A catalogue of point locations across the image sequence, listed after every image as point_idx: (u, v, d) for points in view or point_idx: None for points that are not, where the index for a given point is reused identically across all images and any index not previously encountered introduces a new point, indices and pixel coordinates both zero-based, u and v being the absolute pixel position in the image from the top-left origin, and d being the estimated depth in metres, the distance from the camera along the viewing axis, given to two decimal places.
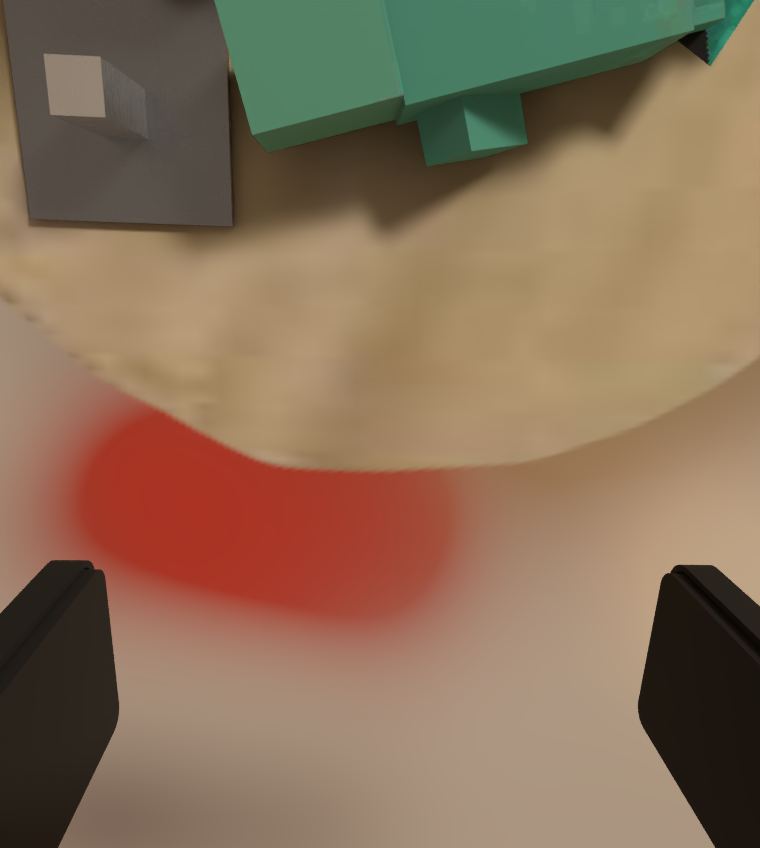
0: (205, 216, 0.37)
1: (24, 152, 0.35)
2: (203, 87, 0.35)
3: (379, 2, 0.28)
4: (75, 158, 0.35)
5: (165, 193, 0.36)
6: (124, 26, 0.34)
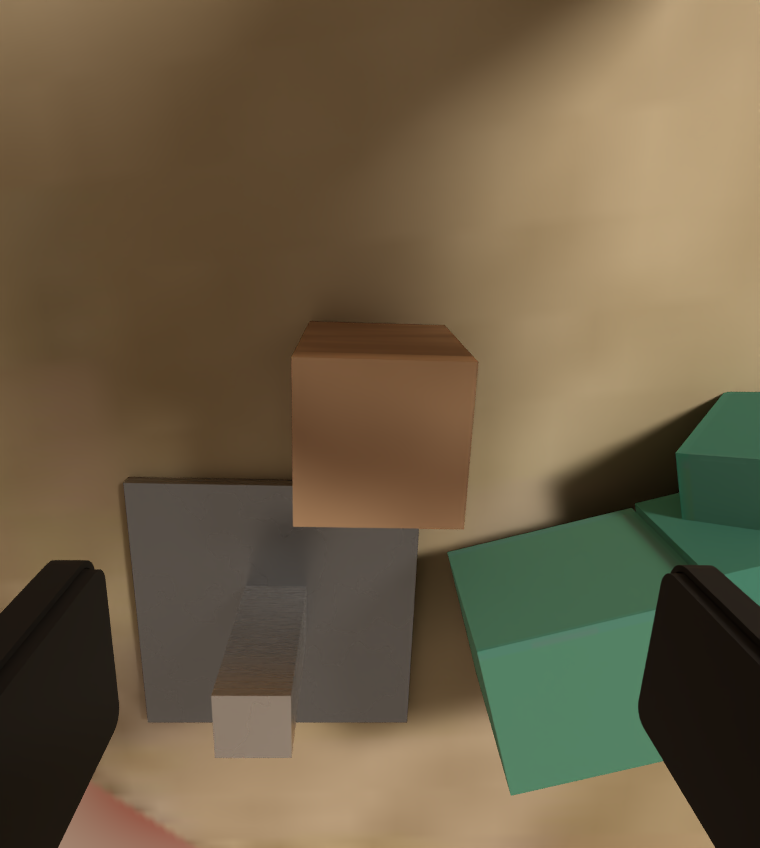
0: (373, 713, 0.28)
1: (144, 656, 0.27)
2: (384, 582, 0.26)
3: None
4: (210, 660, 0.27)
5: (324, 692, 0.28)
6: (285, 521, 0.25)
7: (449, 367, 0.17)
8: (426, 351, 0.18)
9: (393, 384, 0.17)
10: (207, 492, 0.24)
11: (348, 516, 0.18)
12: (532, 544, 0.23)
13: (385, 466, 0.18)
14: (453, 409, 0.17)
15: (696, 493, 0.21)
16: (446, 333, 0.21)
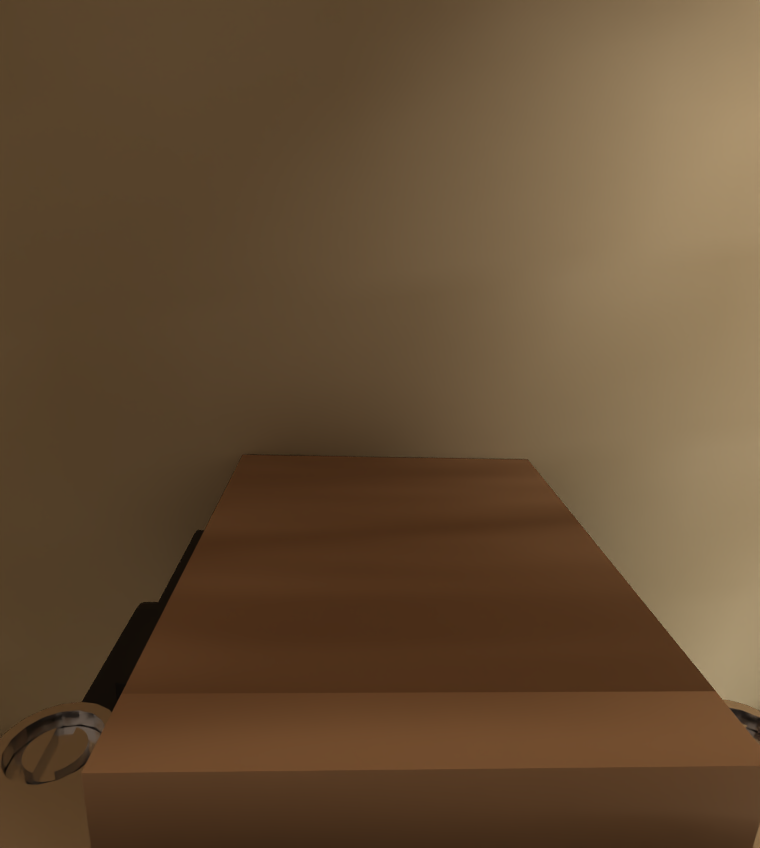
0: None
1: None
2: None
3: None
4: None
5: None
6: None
7: (669, 782, 0.05)
8: (552, 651, 0.06)
9: (465, 840, 0.05)
10: None
11: None
12: None
13: None
14: None
15: None
16: (549, 503, 0.09)
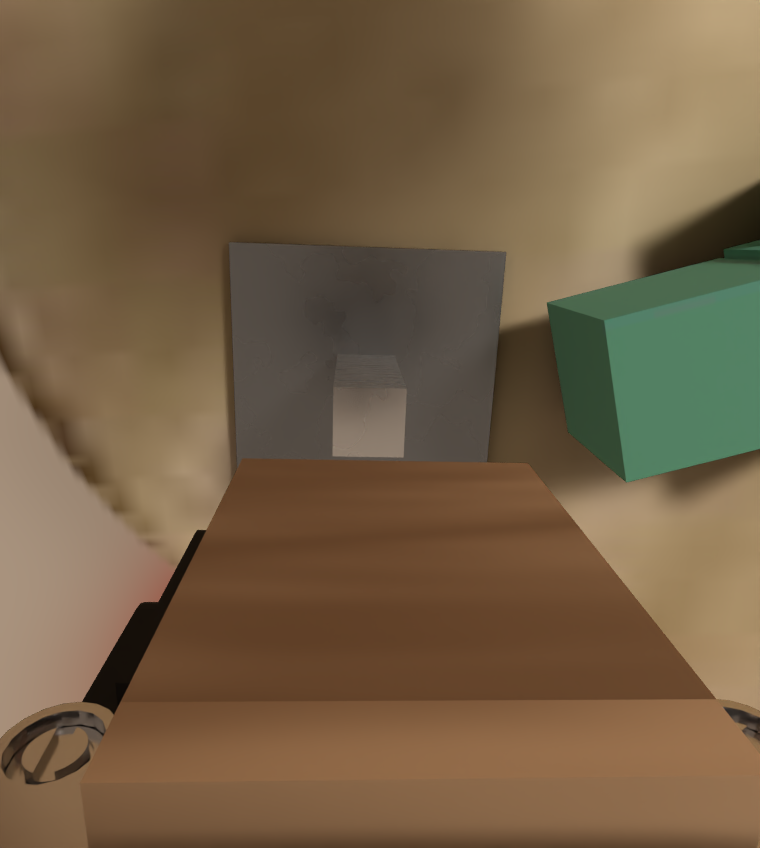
0: None
1: (239, 428, 0.28)
2: (467, 352, 0.28)
3: None
4: (300, 433, 0.28)
5: None
6: (377, 285, 0.27)
7: (671, 792, 0.05)
8: (553, 659, 0.06)
9: None
10: (306, 253, 0.26)
11: None
12: (630, 285, 0.25)
13: None
14: None
15: None
16: (550, 507, 0.09)
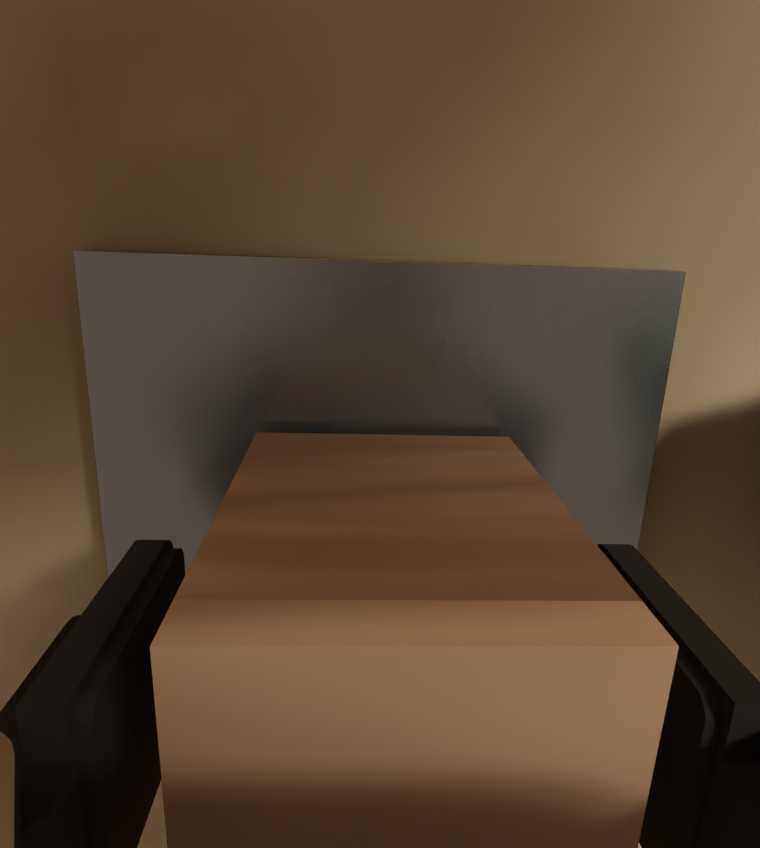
0: None
1: None
2: (589, 477, 0.13)
3: None
4: None
5: None
6: (406, 343, 0.12)
7: (598, 660, 0.06)
8: (515, 574, 0.07)
9: (441, 705, 0.06)
10: (249, 275, 0.12)
11: None
12: None
13: None
14: (601, 758, 0.06)
15: None
16: (525, 470, 0.11)
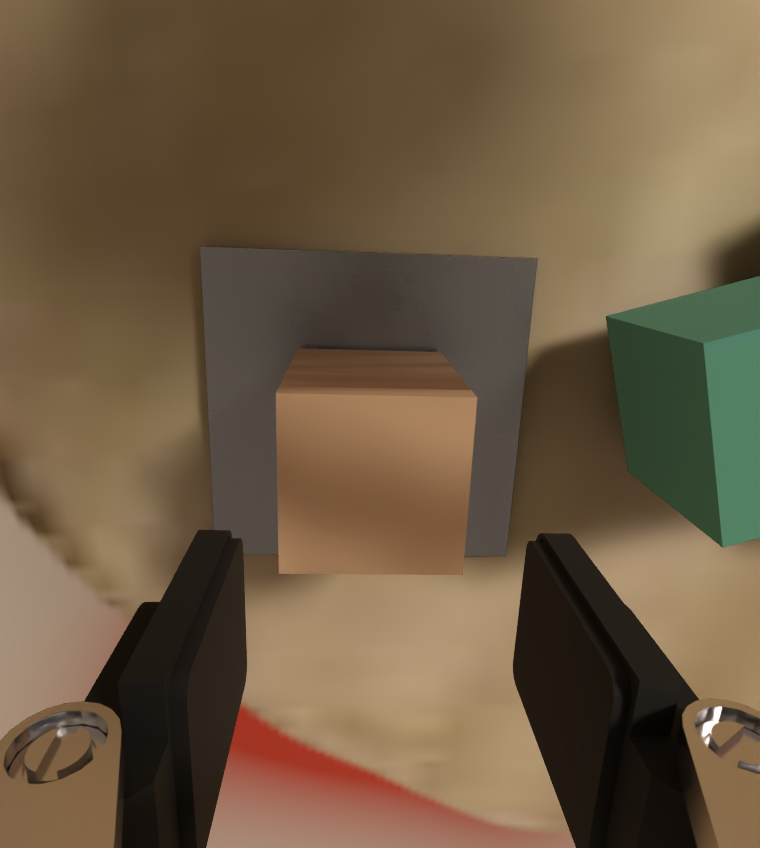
0: (469, 544, 0.25)
1: (214, 469, 0.24)
2: (489, 378, 0.23)
3: None
4: None
5: None
6: (381, 298, 0.22)
7: (446, 403, 0.16)
8: (421, 384, 0.17)
9: (386, 421, 0.16)
10: (295, 260, 0.21)
11: (338, 562, 0.17)
12: (712, 294, 0.20)
13: (377, 509, 0.16)
14: (451, 448, 0.16)
15: None
16: (442, 361, 0.20)
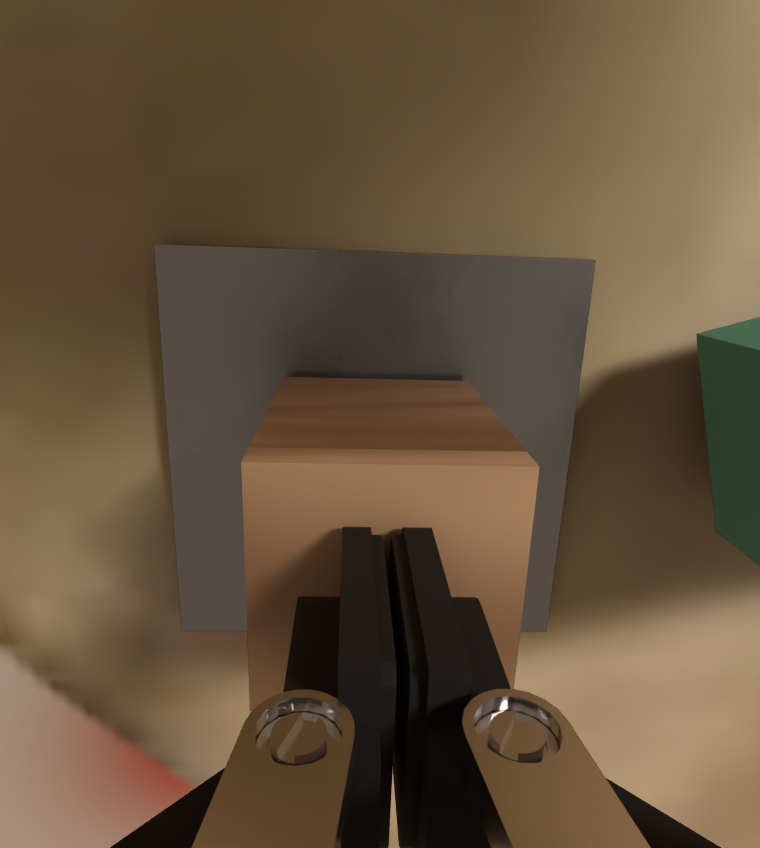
0: None
1: (179, 528, 0.18)
2: (530, 413, 0.18)
3: None
4: None
5: None
6: (392, 312, 0.17)
7: (493, 475, 0.11)
8: (453, 441, 0.12)
9: (405, 502, 0.11)
10: (279, 262, 0.16)
11: None
12: None
13: None
14: (499, 538, 0.11)
15: None
16: (474, 398, 0.15)
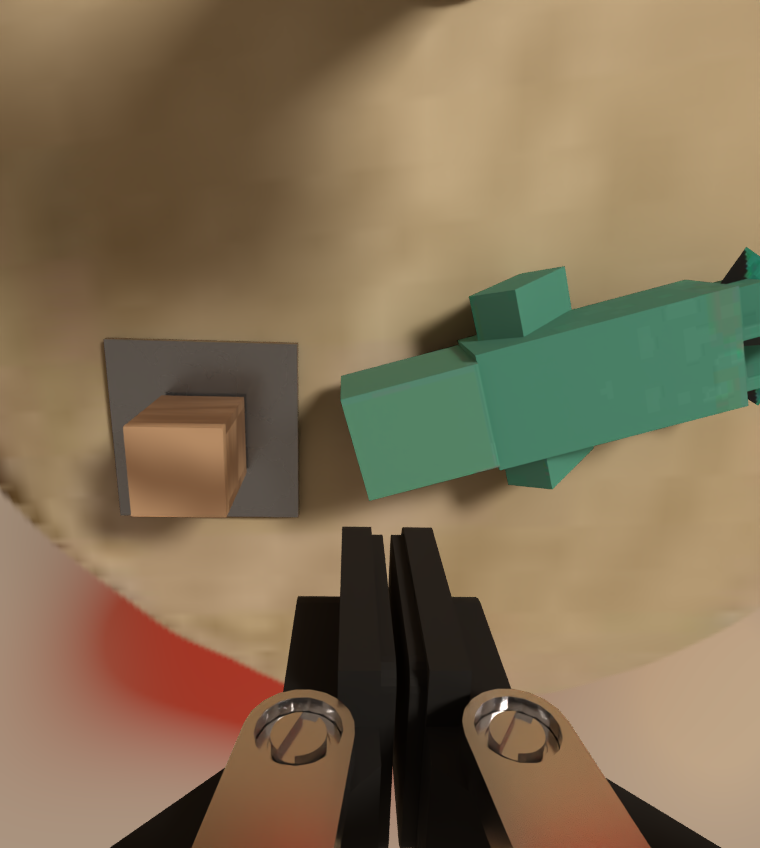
0: (274, 510, 0.41)
1: (118, 464, 0.40)
2: (276, 411, 0.40)
3: (481, 401, 0.32)
4: None
5: (240, 493, 0.41)
6: (209, 367, 0.38)
7: (207, 431, 0.32)
8: (203, 420, 0.33)
9: (178, 440, 0.32)
10: (158, 346, 0.38)
11: (161, 510, 0.33)
12: (392, 365, 0.37)
13: (178, 483, 0.33)
14: (212, 452, 0.33)
15: (482, 321, 0.34)
16: (235, 404, 0.37)
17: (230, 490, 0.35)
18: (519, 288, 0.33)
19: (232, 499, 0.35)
